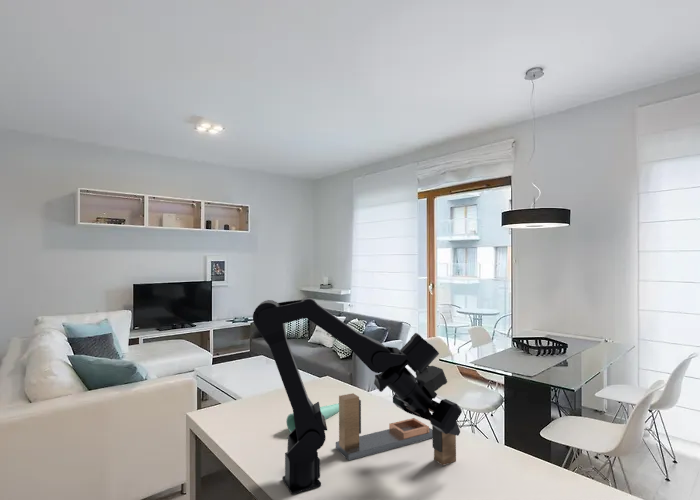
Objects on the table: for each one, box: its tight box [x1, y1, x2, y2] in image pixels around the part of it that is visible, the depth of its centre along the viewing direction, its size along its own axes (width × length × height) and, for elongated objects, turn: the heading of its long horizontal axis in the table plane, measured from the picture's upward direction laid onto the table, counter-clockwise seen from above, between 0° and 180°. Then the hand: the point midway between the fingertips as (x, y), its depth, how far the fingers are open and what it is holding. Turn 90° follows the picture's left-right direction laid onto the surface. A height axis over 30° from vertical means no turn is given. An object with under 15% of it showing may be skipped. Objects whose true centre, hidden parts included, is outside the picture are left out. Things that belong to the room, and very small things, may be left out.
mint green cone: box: [286, 402, 339, 433], centre depth 116 cm, size 5×6×27 cm
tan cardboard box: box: [431, 412, 457, 466], centre depth 91 cm, size 5×3×12 cm, turn 118°
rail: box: [335, 392, 432, 461], centre depth 100 cm, size 26×7×14 cm, turn 118°
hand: (444, 426), depth 91 cm, fingers open, 9 cm apart
